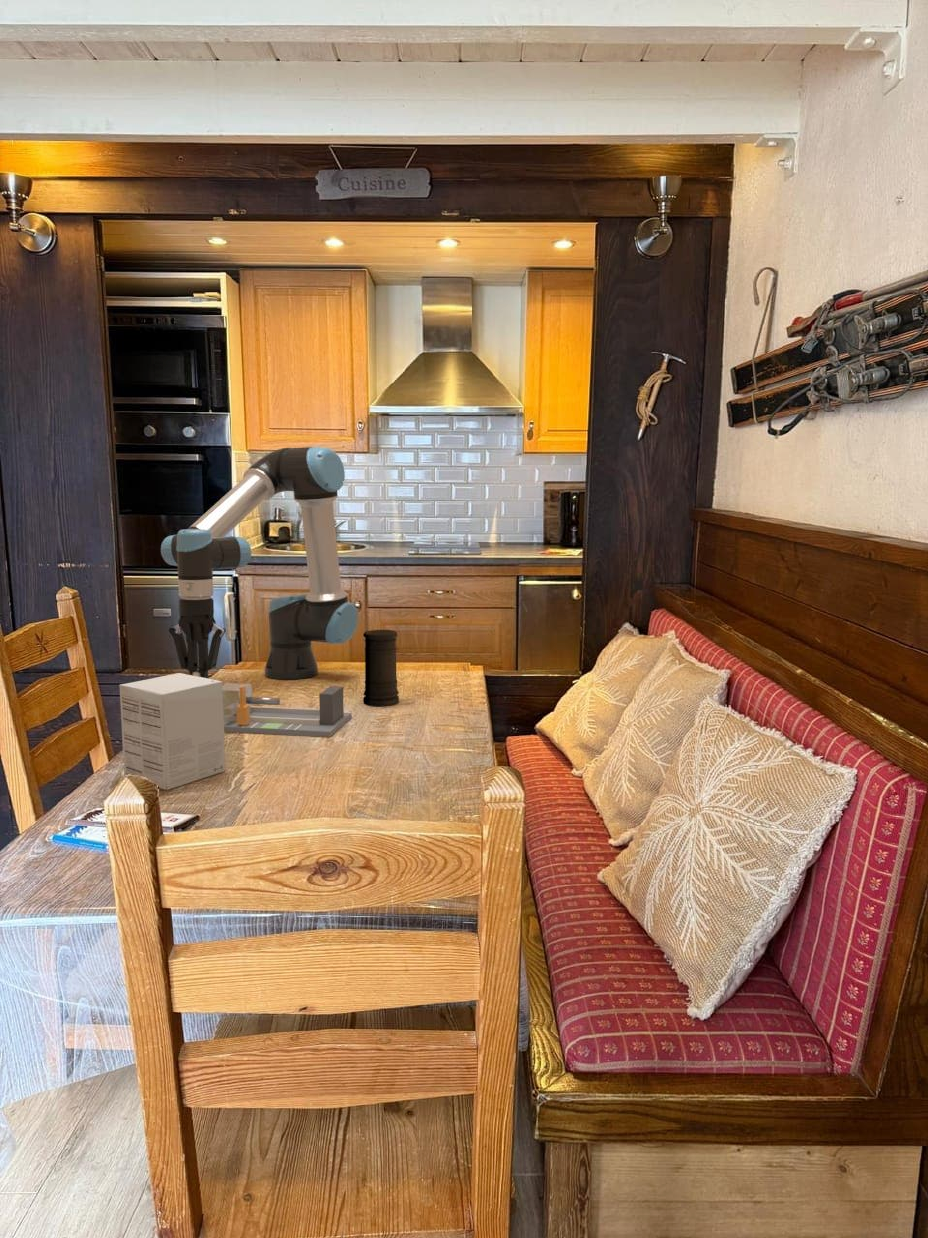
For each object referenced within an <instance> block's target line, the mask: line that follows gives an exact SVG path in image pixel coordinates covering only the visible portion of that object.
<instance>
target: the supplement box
mask: <svg viewBox="0 0 928 1238" xmlns="http://www.w3.org/2000/svg"><path fill="white" fill-rule="evenodd" d="M222 685H223V681H221V680H217V679H212V678H209V677H208V678H202V677H197V676H192V675H189V674H186V673H180V672H177V673H176V672H175V673H173V674H168V675H163V676H157V677H153V678H152V677H151V678H148V679H143V680H138V681H134V682H128V683H122V684H119V685H118V686H119V701H120V702H119V704H120V717H121V719H120V720H121V721H120V722H121V738H122V739H121V740H122V741H121V743H122V759H123V760H122V761H123V774H124V775H128V774H131V775H139V776H143V777H146V778H148V779H149V780H151V781H153V782H155V783H157V785H158V786H159V788H158V789H161V790H165V791H168V790H171V789H174V788H177V787H178V788H179V787H180V786H184V785H187V784H189V783H193V782H196V781H199V780H202V779H205V778H208V777H211V776H214V775H218V774H221V773H224V772H225V771H226V770H227V769H226V768H227V767H226V764H227V763H226V746H225V732H224V719H223V695H222Z"/></svg>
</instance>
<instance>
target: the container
mask: <svg viewBox="0 0 928 1238" xmlns="http://www.w3.org/2000/svg"><path fill="white" fill-rule="evenodd" d="M362 635H363V637H364V638H365V639H364V643H365V647H364V662H365V663H364V666H365V667H364V668H365V670H364V674H365V675H364V677H365V679H364V692H363V695H364V697H363V698H362V701H363V704H364V705H367V706H370V707H390V706H394V705H396V704H398V703H399V701H400V697H399V690H398V678H397V677H398V676H397V644H396V643H397V637H398V632H397V631H395V630H391V629H372V630H367V631H364V632H363V634H362Z"/></svg>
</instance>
